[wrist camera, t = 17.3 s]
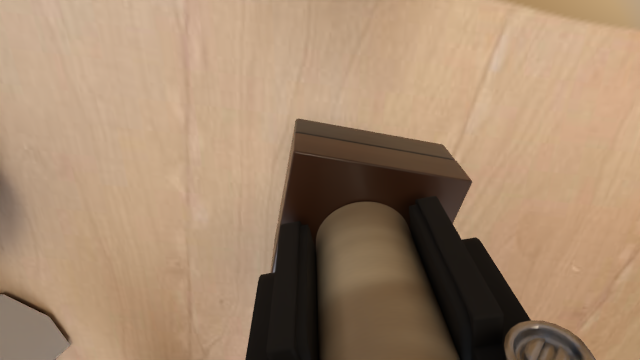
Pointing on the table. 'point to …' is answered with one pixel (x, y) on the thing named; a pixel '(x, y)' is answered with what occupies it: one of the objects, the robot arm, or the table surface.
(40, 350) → the flask
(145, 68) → the table surface
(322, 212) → the peg on square base
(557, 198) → the table surface
